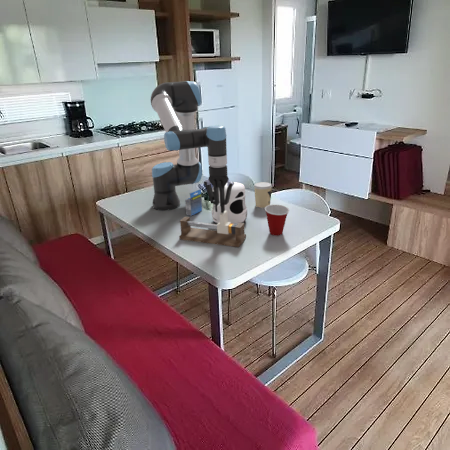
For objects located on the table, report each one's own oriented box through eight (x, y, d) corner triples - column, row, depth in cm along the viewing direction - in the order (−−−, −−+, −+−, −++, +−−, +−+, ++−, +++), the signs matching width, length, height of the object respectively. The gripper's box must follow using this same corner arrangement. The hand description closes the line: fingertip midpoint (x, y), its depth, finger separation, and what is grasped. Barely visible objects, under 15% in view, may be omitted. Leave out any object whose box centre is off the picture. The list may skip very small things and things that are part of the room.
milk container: (207, 218, 183) (205, 184, 176) (238, 212, 189) (237, 179, 182) (220, 231, 168) (218, 194, 161) (253, 224, 174) (253, 188, 167)
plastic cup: (282, 240, 157) (283, 214, 153) (260, 235, 163) (260, 210, 158) (292, 230, 166) (293, 206, 161) (270, 226, 171) (271, 202, 166)
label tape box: (196, 209, 196) (195, 187, 191) (202, 210, 193) (201, 188, 188) (186, 214, 189) (184, 192, 184) (192, 216, 187) (190, 193, 182)
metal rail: (183, 228, 163) (183, 220, 162) (187, 225, 166) (186, 217, 165) (238, 234, 154) (238, 227, 153) (241, 231, 157) (241, 223, 156)
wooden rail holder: (179, 239, 162) (177, 222, 159) (188, 230, 171) (187, 214, 168) (239, 247, 153) (238, 230, 150) (246, 237, 161) (246, 220, 158)
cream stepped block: (216, 233, 157) (215, 214, 153) (221, 228, 161) (220, 209, 158) (227, 234, 155) (226, 215, 152) (231, 230, 160) (230, 211, 156)
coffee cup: (272, 208, 192) (272, 186, 187) (254, 209, 192) (254, 187, 188) (270, 202, 201) (270, 181, 196) (253, 202, 201) (253, 182, 196)
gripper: (199, 166, 146) (203, 220, 155) (229, 168, 142) (231, 223, 151) (206, 162, 152) (209, 214, 162) (236, 163, 148) (237, 217, 157)
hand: (220, 218), depth 156 cm, fingers closed
